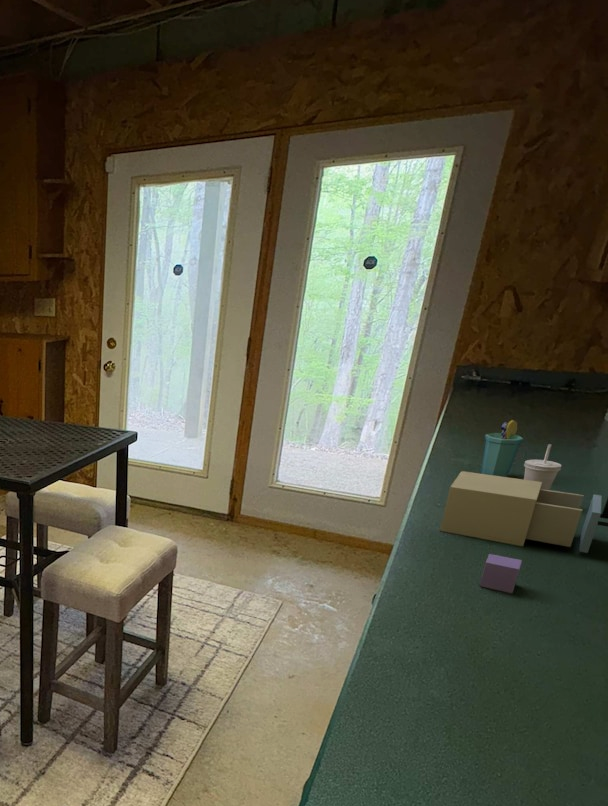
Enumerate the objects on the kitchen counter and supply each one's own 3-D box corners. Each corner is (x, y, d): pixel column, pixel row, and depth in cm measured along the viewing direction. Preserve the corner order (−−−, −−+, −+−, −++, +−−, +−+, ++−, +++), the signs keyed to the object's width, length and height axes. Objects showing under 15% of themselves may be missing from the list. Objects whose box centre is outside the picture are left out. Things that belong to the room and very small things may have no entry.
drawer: (623, 538, 120) (636, 500, 117) (624, 559, 111) (638, 519, 108) (509, 519, 131) (519, 484, 128) (502, 537, 122) (513, 499, 119)
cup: (507, 487, 152) (524, 426, 147) (469, 481, 157) (484, 422, 152) (515, 474, 162) (531, 416, 156) (479, 469, 167) (493, 413, 161)
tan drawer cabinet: (529, 526, 129) (542, 482, 126) (523, 546, 120) (536, 499, 116) (451, 512, 138) (461, 471, 134) (439, 530, 128) (450, 486, 125)
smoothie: (519, 508, 139) (537, 446, 134) (508, 498, 145) (525, 439, 140) (554, 510, 137) (573, 448, 132) (542, 500, 143) (559, 441, 138)
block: (515, 584, 106) (522, 560, 104) (512, 593, 103) (519, 569, 101) (482, 577, 109) (489, 553, 107) (479, 586, 106) (485, 562, 104)
